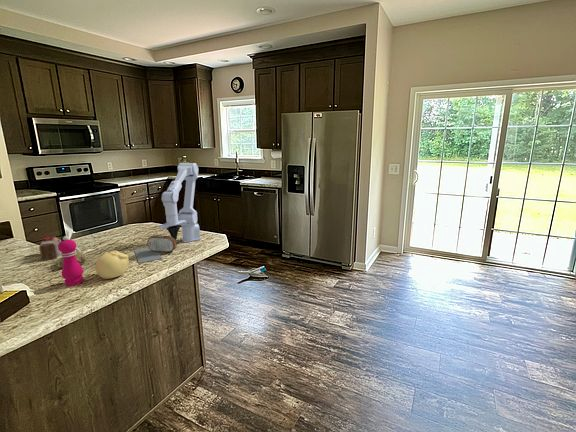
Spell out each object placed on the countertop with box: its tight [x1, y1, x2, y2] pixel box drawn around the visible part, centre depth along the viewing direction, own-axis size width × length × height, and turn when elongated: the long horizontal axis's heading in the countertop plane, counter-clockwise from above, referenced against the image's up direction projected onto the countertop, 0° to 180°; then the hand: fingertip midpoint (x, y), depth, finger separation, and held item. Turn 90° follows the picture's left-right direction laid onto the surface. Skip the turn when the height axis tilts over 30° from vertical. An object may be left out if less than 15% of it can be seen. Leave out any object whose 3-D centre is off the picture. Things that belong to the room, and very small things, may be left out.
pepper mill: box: [58, 235, 85, 287], centre depth 122 cm, size 7×7×20 cm
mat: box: [133, 247, 163, 264], centre depth 154 cm, size 10×20×1 cm, turn 32°
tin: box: [146, 234, 178, 253], centre depth 156 cm, size 15×3×8 cm, turn 84°
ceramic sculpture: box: [57, 245, 86, 268], centre depth 143 cm, size 11×9×15 cm
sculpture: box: [94, 250, 130, 280], centre depth 129 cm, size 11×12×11 cm
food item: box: [38, 236, 62, 261], centre depth 153 cm, size 14×8×10 cm, turn 31°
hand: (174, 239), depth 159 cm, fingers closed
